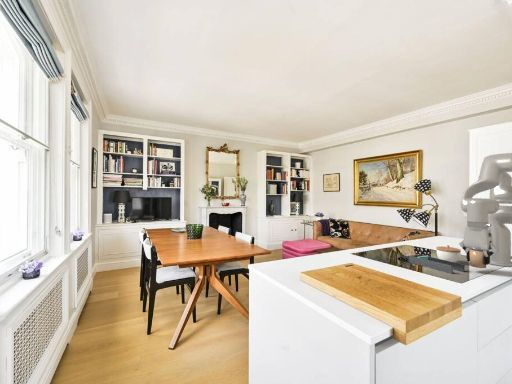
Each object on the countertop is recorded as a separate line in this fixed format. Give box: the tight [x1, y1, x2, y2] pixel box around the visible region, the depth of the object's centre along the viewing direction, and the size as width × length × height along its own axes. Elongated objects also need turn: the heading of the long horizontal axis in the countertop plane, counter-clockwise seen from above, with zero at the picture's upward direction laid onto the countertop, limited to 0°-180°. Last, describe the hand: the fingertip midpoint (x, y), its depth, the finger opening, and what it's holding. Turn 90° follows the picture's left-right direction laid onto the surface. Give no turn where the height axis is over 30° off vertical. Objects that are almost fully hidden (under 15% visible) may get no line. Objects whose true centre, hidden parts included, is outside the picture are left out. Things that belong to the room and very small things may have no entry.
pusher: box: [417, 255, 429, 260], centre depth 135 cm, size 7×1×4 cm, turn 112°
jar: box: [469, 247, 487, 269], centre depth 120 cm, size 6×6×9 cm
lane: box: [407, 253, 465, 275], centre depth 130 cm, size 10×22×4 cm, turn 22°
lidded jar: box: [435, 245, 462, 263], centre depth 138 cm, size 11×11×9 cm
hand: (477, 262), depth 120 cm, fingers closed on jar, 6 cm apart
